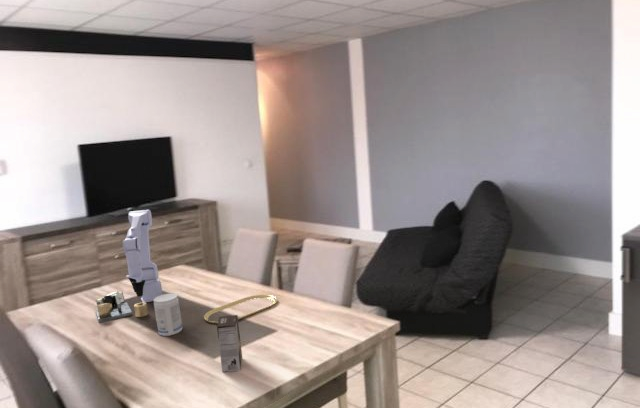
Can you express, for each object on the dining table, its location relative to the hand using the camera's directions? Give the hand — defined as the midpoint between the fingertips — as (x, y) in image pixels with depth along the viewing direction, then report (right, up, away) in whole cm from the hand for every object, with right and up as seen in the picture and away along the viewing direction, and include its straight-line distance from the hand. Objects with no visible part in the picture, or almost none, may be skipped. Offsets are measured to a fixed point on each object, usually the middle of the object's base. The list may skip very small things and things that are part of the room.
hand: (138, 294), depth 227 cm
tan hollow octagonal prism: (+1, -10, +2) cm, 10 cm away
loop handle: (+46, -7, -2) cm, 47 cm away
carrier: (-14, -10, +6) cm, 18 cm away
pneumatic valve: (-26, -7, +17) cm, 31 cm away
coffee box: (+51, -15, -55) cm, 76 cm away
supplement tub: (+20, -12, -21) cm, 31 cm away
